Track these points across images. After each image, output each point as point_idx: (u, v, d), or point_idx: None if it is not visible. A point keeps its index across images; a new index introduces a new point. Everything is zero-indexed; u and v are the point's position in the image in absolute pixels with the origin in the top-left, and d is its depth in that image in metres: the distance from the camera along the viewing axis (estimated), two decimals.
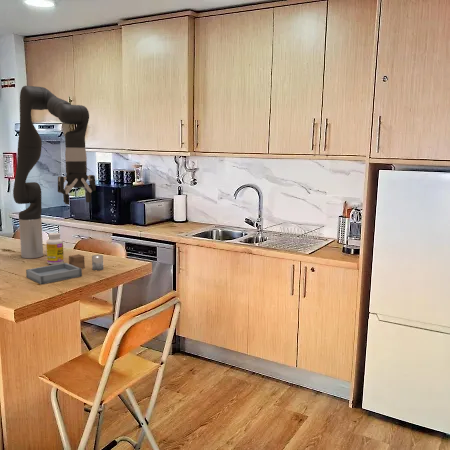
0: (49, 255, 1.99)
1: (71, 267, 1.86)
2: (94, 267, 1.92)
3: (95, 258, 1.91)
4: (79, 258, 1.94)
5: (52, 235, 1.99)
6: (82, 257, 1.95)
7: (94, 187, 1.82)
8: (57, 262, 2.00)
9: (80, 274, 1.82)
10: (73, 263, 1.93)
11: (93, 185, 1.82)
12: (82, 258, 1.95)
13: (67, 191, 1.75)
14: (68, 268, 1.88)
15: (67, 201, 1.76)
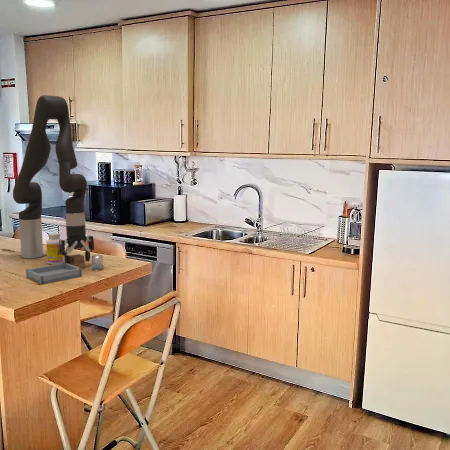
0: (49, 255, 1.99)
1: (71, 267, 1.86)
2: (94, 267, 1.92)
3: (95, 258, 1.91)
4: (79, 258, 1.94)
5: (52, 235, 1.99)
6: (82, 257, 1.95)
7: (93, 247, 1.98)
8: (57, 262, 2.00)
9: (80, 274, 1.82)
10: (73, 263, 1.93)
11: (92, 245, 1.98)
12: (82, 258, 1.95)
13: (68, 253, 1.91)
14: (68, 268, 1.88)
15: (68, 262, 1.91)
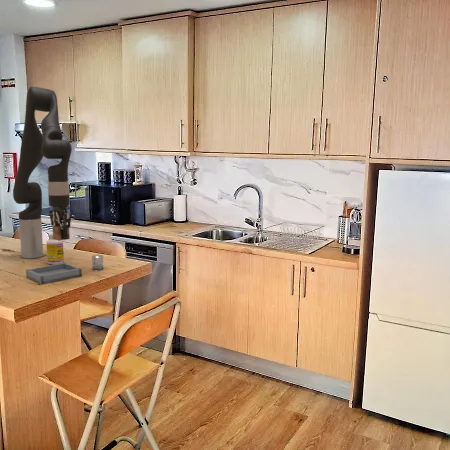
0: (49, 255, 1.99)
1: (71, 267, 1.86)
2: (94, 267, 1.92)
3: (95, 258, 1.91)
4: (55, 228, 1.80)
5: (52, 235, 1.99)
6: (56, 228, 1.79)
7: (63, 225, 1.77)
8: (57, 262, 2.00)
9: (80, 274, 1.82)
10: None
11: (63, 223, 1.77)
12: (56, 229, 1.79)
13: (54, 225, 1.82)
14: (68, 268, 1.88)
15: None
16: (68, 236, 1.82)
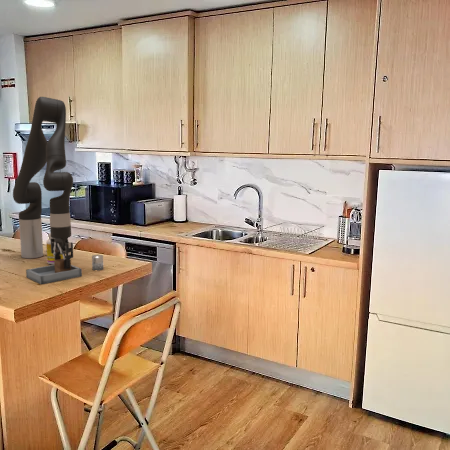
0: (49, 255, 1.99)
1: (71, 267, 1.86)
2: (94, 267, 1.92)
3: (95, 258, 1.91)
4: (57, 262, 1.82)
5: None
6: (58, 262, 1.81)
7: (66, 255, 1.78)
8: None
9: (80, 274, 1.82)
10: None
11: (66, 253, 1.78)
12: (58, 264, 1.81)
13: (54, 253, 1.85)
14: None
15: None
16: None
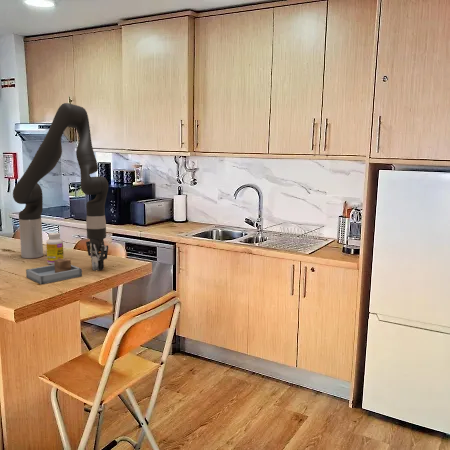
0: (49, 255, 1.99)
1: (71, 267, 1.86)
2: (94, 267, 1.92)
3: (95, 258, 1.91)
4: (57, 262, 1.82)
5: (52, 235, 1.99)
6: (58, 262, 1.81)
7: (101, 257, 1.88)
8: None
9: (80, 274, 1.82)
10: None
11: (101, 254, 1.88)
12: (58, 264, 1.81)
13: (91, 255, 1.94)
14: None
15: None
16: None
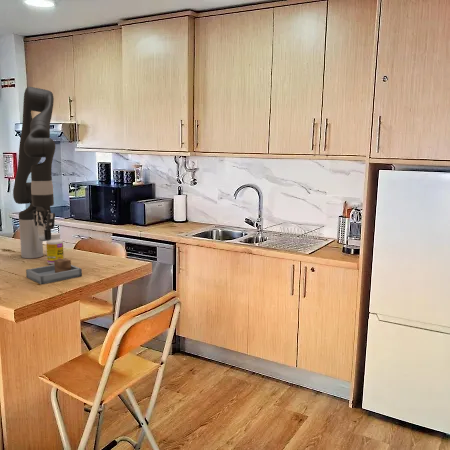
0: (49, 255, 1.99)
1: (71, 267, 1.86)
2: (40, 237, 1.75)
3: (41, 227, 1.74)
4: (57, 262, 1.82)
5: (52, 235, 1.99)
6: (58, 262, 1.81)
7: (47, 225, 1.72)
8: None
9: (80, 274, 1.82)
10: None
11: (47, 223, 1.72)
12: (58, 264, 1.81)
13: (37, 225, 1.77)
14: None
15: None
16: None
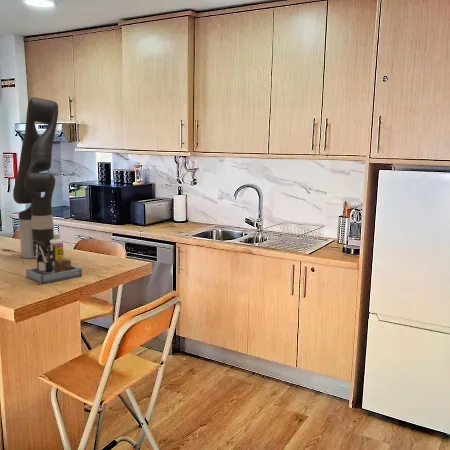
0: None
1: (71, 267, 1.86)
2: (41, 274, 1.77)
3: (42, 264, 1.76)
4: (57, 262, 1.82)
5: None
6: (58, 262, 1.81)
7: (48, 258, 1.73)
8: None
9: (80, 274, 1.82)
10: None
11: (48, 256, 1.73)
12: (58, 264, 1.81)
13: (36, 256, 1.80)
14: None
15: None
16: None
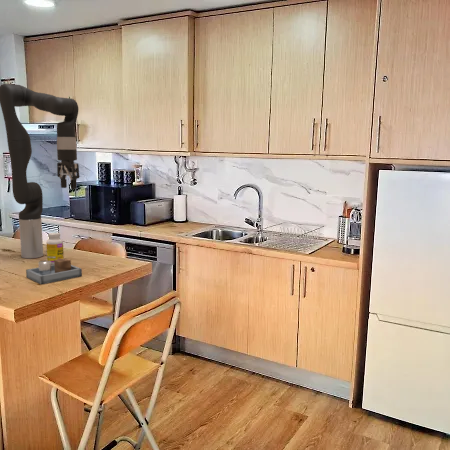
0: (49, 255, 1.99)
1: (71, 267, 1.86)
2: (41, 274, 1.77)
3: (41, 264, 1.76)
4: (57, 262, 1.82)
5: (52, 235, 1.99)
6: (58, 262, 1.81)
7: (73, 175, 1.89)
8: None
9: (80, 274, 1.82)
10: None
11: (72, 173, 1.89)
12: (58, 264, 1.81)
13: (60, 176, 1.97)
14: None
15: None
16: None
